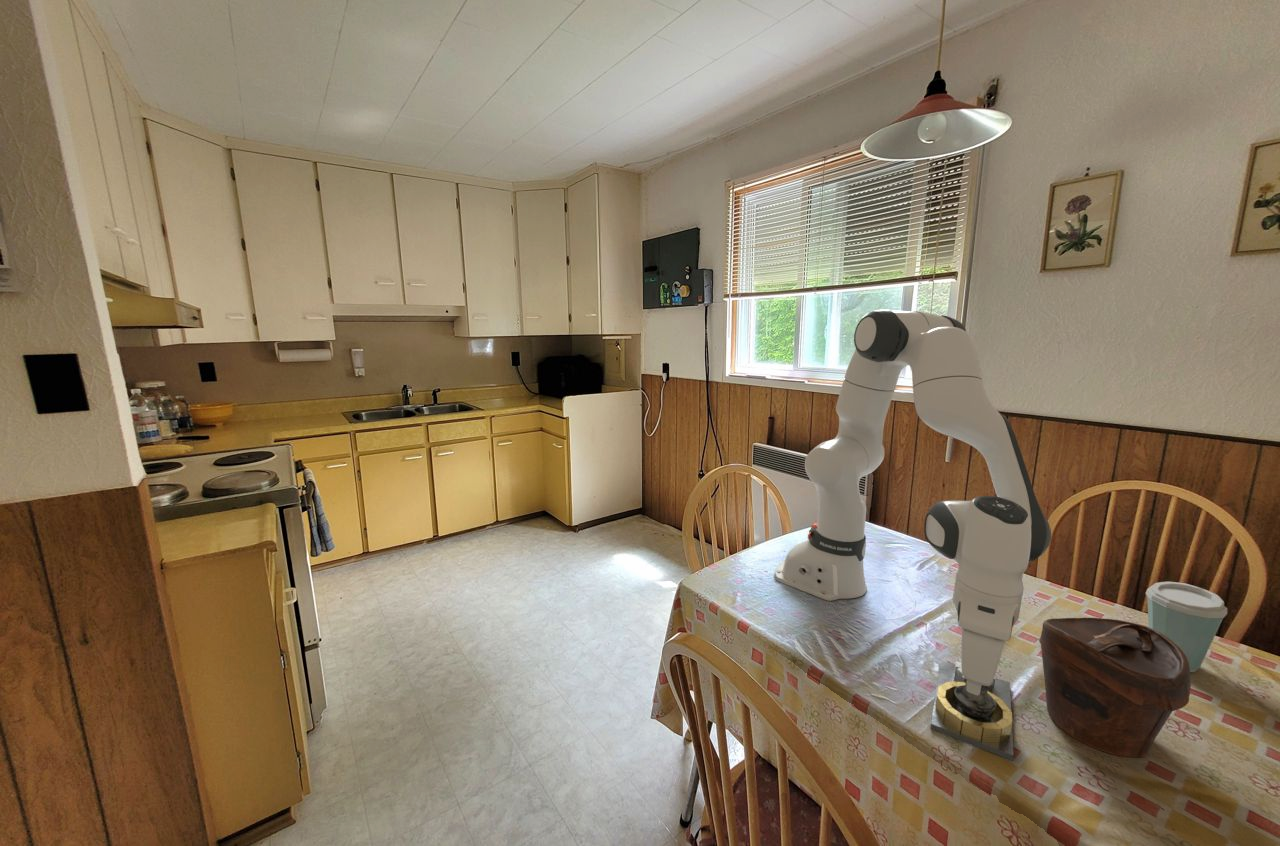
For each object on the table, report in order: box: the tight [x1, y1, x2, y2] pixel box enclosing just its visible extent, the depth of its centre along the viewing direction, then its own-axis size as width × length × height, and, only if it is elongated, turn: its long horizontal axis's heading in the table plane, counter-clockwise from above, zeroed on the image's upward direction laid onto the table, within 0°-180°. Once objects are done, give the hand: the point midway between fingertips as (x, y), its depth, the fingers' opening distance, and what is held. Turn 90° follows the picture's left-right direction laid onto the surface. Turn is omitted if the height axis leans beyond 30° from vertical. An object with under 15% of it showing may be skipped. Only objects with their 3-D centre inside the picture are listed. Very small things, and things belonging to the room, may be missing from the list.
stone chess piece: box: [954, 679, 996, 723], centre depth 82 cm, size 6×6×12 cm
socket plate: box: [930, 659, 1015, 762], centre depth 87 cm, size 11×19×4 cm, turn 145°
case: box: [1038, 617, 1192, 758], centre depth 81 cm, size 18×20×18 cm
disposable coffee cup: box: [1145, 581, 1228, 673], centre depth 96 cm, size 11×11×15 cm
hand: (974, 674), depth 82 cm, fingers open, 8 cm apart
